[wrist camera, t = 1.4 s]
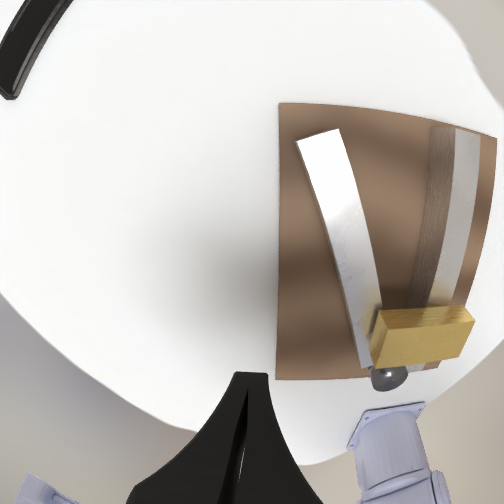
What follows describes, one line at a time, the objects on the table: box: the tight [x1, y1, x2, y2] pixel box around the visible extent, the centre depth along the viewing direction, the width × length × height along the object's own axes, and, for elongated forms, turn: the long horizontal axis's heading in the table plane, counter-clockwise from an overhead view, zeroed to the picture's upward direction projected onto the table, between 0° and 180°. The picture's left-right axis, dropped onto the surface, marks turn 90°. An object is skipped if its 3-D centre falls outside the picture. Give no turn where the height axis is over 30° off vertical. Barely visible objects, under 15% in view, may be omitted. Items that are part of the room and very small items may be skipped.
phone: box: [0, 0, 73, 100], centre depth 12 cm, size 8×1×15 cm
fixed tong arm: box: [368, 127, 480, 392], centre depth 16 cm, size 18×4×4 cm, turn 1°
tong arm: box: [294, 129, 383, 369], centre depth 16 cm, size 15×2×3 cm, turn 21°
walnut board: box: [275, 103, 497, 380], centre depth 18 cm, size 21×16×1 cm
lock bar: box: [369, 305, 475, 369], centre depth 14 cm, size 3×6×2 cm, turn 91°
